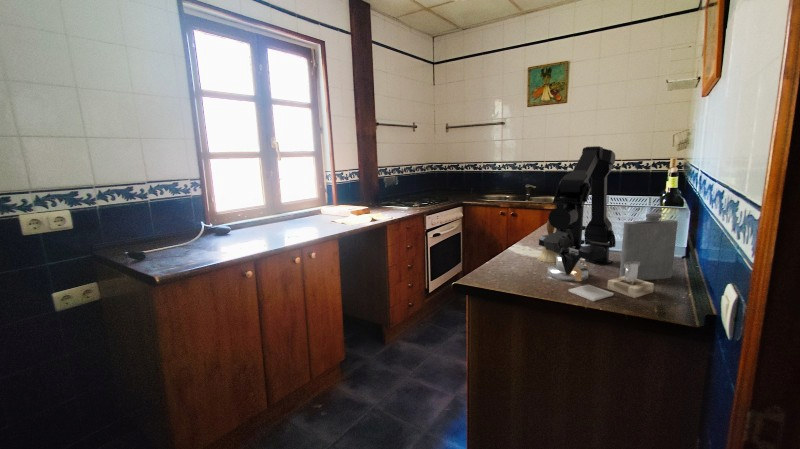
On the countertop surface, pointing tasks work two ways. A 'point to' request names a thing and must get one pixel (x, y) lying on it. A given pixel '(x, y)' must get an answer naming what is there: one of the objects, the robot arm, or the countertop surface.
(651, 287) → the socket
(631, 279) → the shiny silver metal piece
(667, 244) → the hip flask
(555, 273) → the base
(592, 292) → the white square plate
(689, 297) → the countertop surface
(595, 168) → the robot arm
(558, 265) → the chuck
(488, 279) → the countertop surface
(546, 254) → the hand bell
